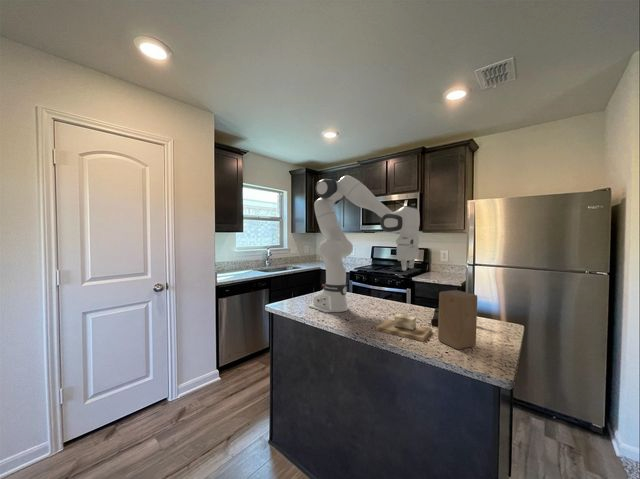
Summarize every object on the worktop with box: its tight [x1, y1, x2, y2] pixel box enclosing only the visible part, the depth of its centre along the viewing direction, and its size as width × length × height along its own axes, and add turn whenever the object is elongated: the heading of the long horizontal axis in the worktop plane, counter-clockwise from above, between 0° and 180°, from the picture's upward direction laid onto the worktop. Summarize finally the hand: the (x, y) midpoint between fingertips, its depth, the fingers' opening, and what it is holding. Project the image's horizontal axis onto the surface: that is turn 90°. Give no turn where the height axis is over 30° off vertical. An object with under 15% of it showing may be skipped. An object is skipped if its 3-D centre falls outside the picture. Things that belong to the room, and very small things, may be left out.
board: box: [375, 319, 432, 342], centre depth 119 cm, size 20×13×2 cm, turn 54°
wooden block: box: [437, 289, 478, 350], centre depth 106 cm, size 10×10×20 cm
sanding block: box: [393, 313, 417, 331], centre depth 119 cm, size 8×4×5 cm, turn 54°
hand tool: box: [430, 307, 439, 328], centre depth 134 cm, size 19×4×5 cm, turn 152°
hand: (407, 269), depth 131 cm, fingers open, 8 cm apart
